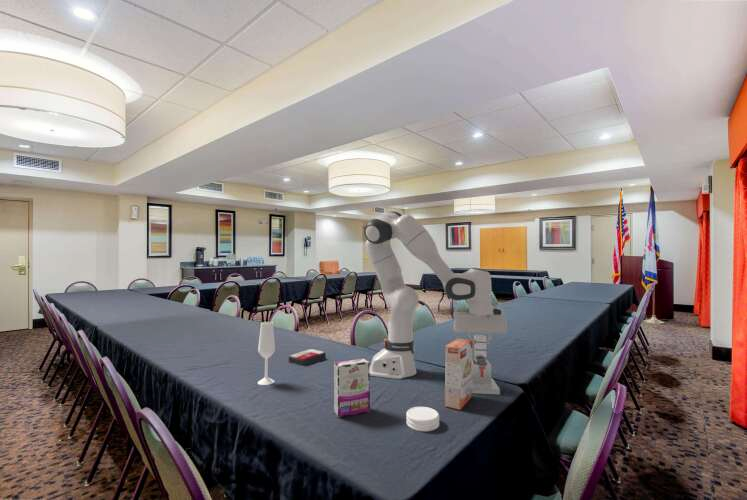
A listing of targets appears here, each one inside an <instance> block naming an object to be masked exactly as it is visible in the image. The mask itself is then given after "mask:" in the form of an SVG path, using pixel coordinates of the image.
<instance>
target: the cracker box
mask: <svg viewBox="0 0 747 500" xmlns="http://www.w3.org/2000/svg"><path fill="white" fill-rule="evenodd" d="M473 352H474V345H473V341H472V340H471V339H466V338H465V339H464V338H456V339H455V340H454V341H451V342H450V343H447V344H446V345H445V353H444V355H445V356H444V357H445V362H444V363H445V365H444V367H445V368H444V372H445V373H444V374H445V375H444V376H445V378H444V379H445V380H444V383H445V385H444V386H445V387H444V407H445V408H449V409H454V410H459V411H461V410H462V409H463V408H464V407H465V405H467V403H468V402H469V401H470V400H471V399H472V398H473V393H472V360H473Z"/></svg>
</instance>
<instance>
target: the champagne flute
mask: <svg viewBox="0 0 747 500" xmlns="http://www.w3.org/2000/svg"><path fill="white" fill-rule="evenodd" d="M274 333H275V331H274V322H271V321H263V322H261V323H260V329H259V339H258V345H257V347H258V348H257V352H258V354H259V355H260V356H261V357H262V358H263V359H264V377H263V378H262V379H260V380H258V381H257V384H258V385H260V386H264V385H265V386H266V385H267V386H268V385H271V384H274V383H275V380H274V379H272V378H270V377H269V375H268V374H269V373H268V372H269V358H270V357H272V355H273V354H274V352H275V351H276V346H275V345H276V343H275V334H274Z"/></svg>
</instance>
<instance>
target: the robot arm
mask: <svg viewBox="0 0 747 500" xmlns="http://www.w3.org/2000/svg"><path fill="white" fill-rule="evenodd" d="M363 235H364V237H365V239H366V241H365V248H366V251H367V255H368V258H369V261H370V263H371V265H372V267H373V269H374V272H375V274H376V276H377V279H378V281H379V284H380V286H381V290H382V293H383V296H384V299H385V301H386V303H387V304H388V305H389V306H390V307H391V309H390V310H391V312H390V316H389V317H390V318H389V319H388V325H387V326H388V328H387V329H388V330H387V331H388V334H387V336H388V337H387V338H385V339H384V340H383V348H382V349H381V350H379V351H378V352H377V353H376V354H374V355H373V357H372V359H371V362H370V376H371V377H378V378H387V379H396V380H402V379H405V378H408V377H413V376H415V375H416V374H417V373H418V371H417V369H416V365H415V357H414V352H415V341H414V319H415V313H416V308H417V306H418V304H419V302H420V301H419V300H420V299H419V295H418V293H417V292H416V291H415V290H414V288H412V287H411V286H407V285H406V283H405V281H404V278H403V274H402V268H401V265H400V264H399V261H398V259H397V257H396V255H395V251H394V250H393V249H392V246H391V240H392V239H395V238H396V239H398V240H399V241H400V242H401V243H402V245H404V247H405V249H406V250H407V251H408V252H409V253H410V254H411V255H412V256H414V257H415V258H416V259H418V260H419V261H421V262H422V263H423V264H425V265H426V266H428V267H429V268H430V269H431V271H432V272H433V273H434V274H435V275H436V277H437V278H438V279H439V280H440V282H441V284H442V288H443V291H444V293H445V295H446V296H447V297H448V298H449V299H451V300H452V301H456V302H458V301H463V300H464V301H465V300H468V301H467V304H468V308H457V309H455V310H453V313H452V317H453V330H454V332H455V333H457V334H458V333H460V334H463V333H465V334H467V336H468V338H469V340H472V341H473V346H474V345H475V340H474V338H472V336H473V334H485V335H486V334H487V336H488V338H486V342H487V343H486V346H490V344H491V342H490V341H491V340H492V338H493V335H506V334H507V333H508V322H507V318H506V316H505V310H504V309H502V308H501V307H498V306H496V305H492V301H493V300H492V298H491V297H492V296H491V294H492V290H493V288H492V278H491V273H490V272H489V271H487V270H486V269H484V268H483V269H481V268H478V267H471V268H470V269H468V270H467V271H464V272H462V273H461V274H456V272H454V271H453V270H452V269H451V268H450V267H449V266H448V264H446V262H445V261H444V260H443V258H442V256H441V255H440V253H439V251H438V248H437V244H436V242H435V241H434V239H433V237H432V235H431V234H430V233H429V231H428V230H427V229H426V228H425V227H424V226H423V224H422V223H421V222H419V220H417V219H416V218H415V217H414V216H412V215H411V214H403V215H402V214H401V213H400V212H398V211H387V212H384V213H382V214H379V215H378V216H376V217H375V218H372V219H371V220H369V221H368V222H367V223H366V224H365V225H364V229H363Z"/></svg>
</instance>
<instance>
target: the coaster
mask: <svg viewBox="0 0 747 500" xmlns="http://www.w3.org/2000/svg"><path fill="white" fill-rule="evenodd" d="M405 416H406V420H405V421H406V425H407V426H408V427H409V429H412V430H414V431H417V432H432V431H435V430H436V429H438V428H439V427H440V414H439V412H438V411H437V410H436V409H434V408H431V407H429V406H428V407H427V406H413V407H410V408H409V409H408V410H407V411H406V414H405Z"/></svg>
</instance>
